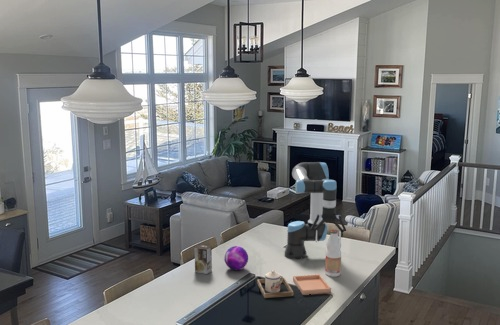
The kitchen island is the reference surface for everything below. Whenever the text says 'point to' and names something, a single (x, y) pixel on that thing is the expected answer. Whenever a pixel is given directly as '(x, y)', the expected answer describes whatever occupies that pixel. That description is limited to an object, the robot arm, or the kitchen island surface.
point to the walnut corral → (277, 294)
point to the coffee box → (203, 259)
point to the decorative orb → (236, 258)
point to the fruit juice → (333, 255)
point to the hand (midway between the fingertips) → (328, 242)
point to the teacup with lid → (273, 282)
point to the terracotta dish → (311, 284)
